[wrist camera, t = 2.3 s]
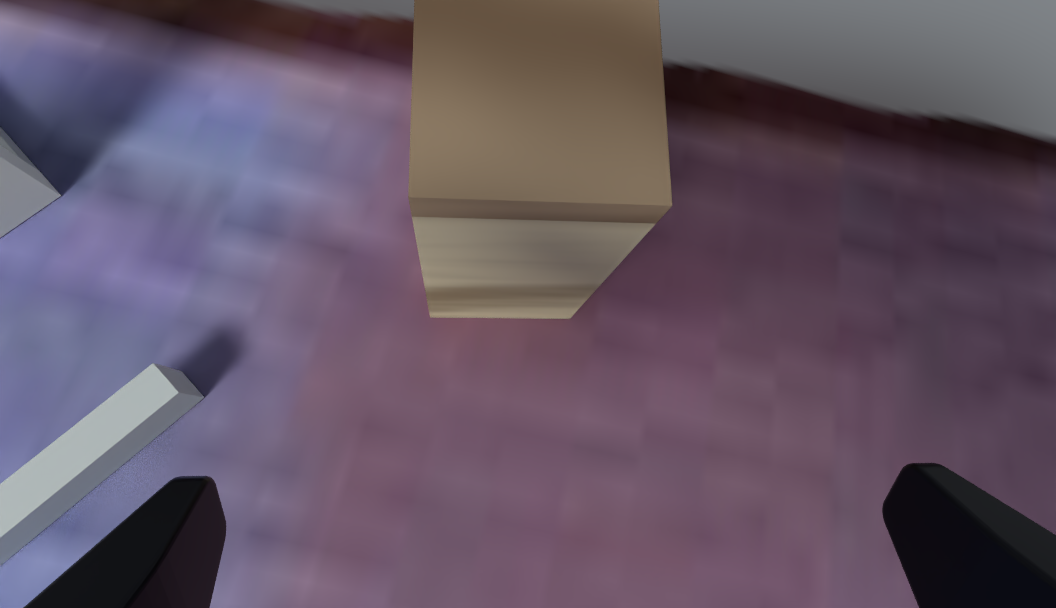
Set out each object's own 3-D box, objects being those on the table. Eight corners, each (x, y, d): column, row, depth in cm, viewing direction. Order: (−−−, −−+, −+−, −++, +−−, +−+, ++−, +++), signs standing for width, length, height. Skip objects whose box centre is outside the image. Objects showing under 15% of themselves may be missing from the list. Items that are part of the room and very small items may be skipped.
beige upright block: (569, 318, 23) (671, 205, 12) (430, 317, 22) (408, 197, 12) (565, 165, 24) (654, -59, 13) (433, 160, 23) (416, -79, 13)
